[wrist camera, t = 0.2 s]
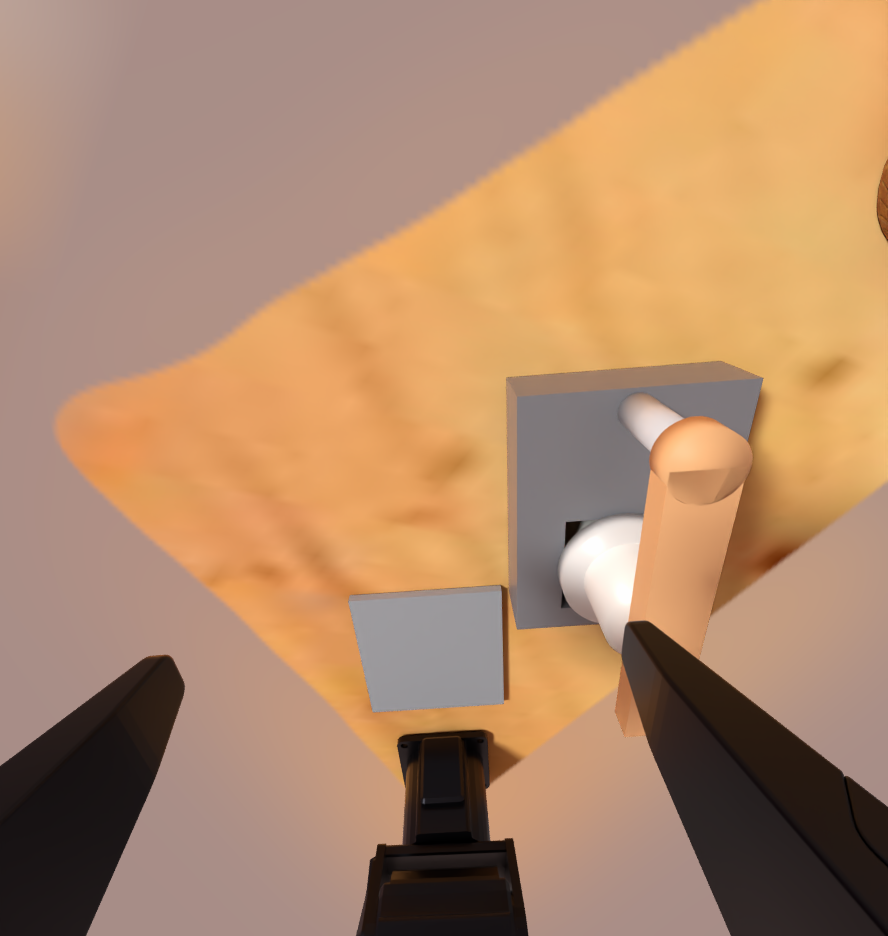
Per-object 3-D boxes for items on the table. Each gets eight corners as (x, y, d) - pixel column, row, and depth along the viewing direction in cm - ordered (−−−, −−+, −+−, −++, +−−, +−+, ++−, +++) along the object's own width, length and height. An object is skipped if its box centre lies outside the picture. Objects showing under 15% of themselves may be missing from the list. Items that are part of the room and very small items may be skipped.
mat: (503, 697, 31) (503, 703, 31) (373, 705, 31) (372, 712, 31) (500, 585, 27) (501, 590, 26) (349, 595, 27) (348, 601, 26)
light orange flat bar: (669, 707, 21) (682, 733, 19) (612, 711, 21) (622, 737, 20) (737, 413, 14) (762, 426, 13) (655, 419, 14) (672, 433, 13)
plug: (645, 568, 26) (711, 669, 20) (542, 575, 26) (576, 677, 20) (659, 477, 24) (741, 561, 17) (545, 485, 24) (585, 572, 17)
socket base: (677, 579, 27) (751, 682, 20) (508, 590, 27) (531, 696, 20) (721, 361, 21) (844, 410, 15) (506, 377, 21) (536, 433, 15)
